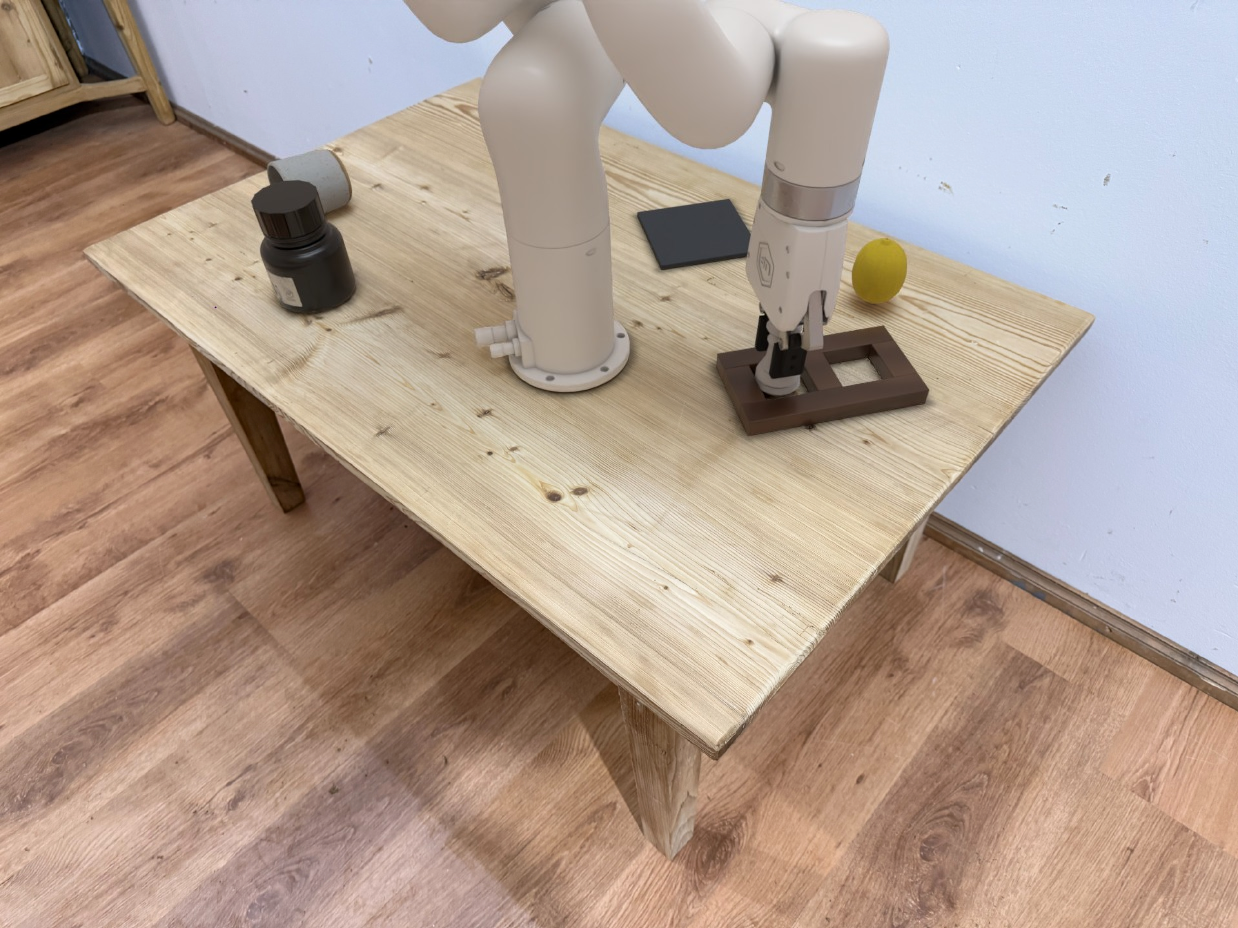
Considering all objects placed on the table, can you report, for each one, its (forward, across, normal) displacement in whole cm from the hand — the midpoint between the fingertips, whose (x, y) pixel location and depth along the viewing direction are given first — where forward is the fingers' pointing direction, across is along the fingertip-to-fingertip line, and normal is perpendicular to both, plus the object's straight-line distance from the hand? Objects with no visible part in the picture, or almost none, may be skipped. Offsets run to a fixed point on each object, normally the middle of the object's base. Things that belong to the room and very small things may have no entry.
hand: (778, 359), depth 81 cm
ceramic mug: (+6, -48, -45) cm, 66 cm away
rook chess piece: (+3, 0, 0) cm, 3 cm away
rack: (+4, 0, +4) cm, 6 cm away
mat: (+4, -29, 0) cm, 29 cm away
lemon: (+4, -10, +15) cm, 19 cm away
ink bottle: (+6, -28, -44) cm, 53 cm away
